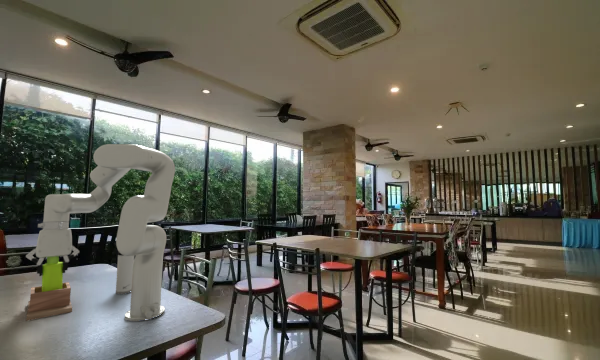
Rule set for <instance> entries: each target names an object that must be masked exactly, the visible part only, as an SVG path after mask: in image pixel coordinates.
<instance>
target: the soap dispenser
mask: <svg viewBox="0 0 600 360" xmlns="http://www.w3.org/2000/svg"><path fill="white" fill-rule="evenodd" d="M63 262H64V261H60V256H56V257H46V263H44V264H43V269H42V276H41V286H42V292H45V291H52V290H58V289H62V285H63V283H64V281H63V279H64V275H63V274H64V273H63Z"/></svg>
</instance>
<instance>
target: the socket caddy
mask: <svg viewBox="0 0 600 360" xmlns="http://www.w3.org/2000/svg"><path fill="white" fill-rule="evenodd" d="M71 291H72V288H71V285H70V282H68V281H67V282H63V285H62V289H58V290H52V291H45V292H42V285H38V286H32V287H30V297H29V298H30V299H29V300H28V303H27V308H26V309H27V310H26V318H25V321H26V322H28V321H32V320H33V321H34V320H36V319H37V320H38V319H42V318H48V317H51V316H52V317H53V316H57V315H62V314H67V313H72V312H73V305H72V302H71Z"/></svg>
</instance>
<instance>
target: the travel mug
mask: <svg viewBox="0 0 600 360" xmlns="http://www.w3.org/2000/svg"><path fill="white" fill-rule="evenodd" d="M117 251H118V250H117ZM134 259H135V256H125V255H122V254H121V253H120V252H119V251H118V252H117V264H116V265H117V269H116V280H115V281H116V282H115V294H116V295H126V294H125V293H127V294H129V293H128V292H130V291H131V287H132V271H133V262H134ZM130 293H131V292H130Z"/></svg>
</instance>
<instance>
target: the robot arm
mask: <svg viewBox="0 0 600 360" xmlns="http://www.w3.org/2000/svg"><path fill="white" fill-rule="evenodd" d="M93 162H94V163H95V165H96V167H95V168H94V169H93V170H92V171H91V172H90V174H89V178H90V180H91V181H92V183H94V184H95V185H96V187H95V188H94V189H93V190H92V191H91V192H90V193H61V194H60V193H59V194H57V193H56V194H55V193H54V194H53V193H52V194H48V195H45V200H44V210H43V211H44V212H43V221H42V222H41V223H38V224H37V228H40V229H41V230H39V233H38V237H37V242H36V247H35V248H33V249H32V250H30V252H29V253H27V254H26V255H25V258H27V259H28V260H30V261H31V262H32V263H34V264H35V265H36V266H37V267H36V275H37V274H38V276H39V277H42V269H43V265H44V264H43V261H44V260H45V259H46V258H47V257H56V256H59V257H63V261H62V262H63V274H65V273H66V271H68V269H69V268H68V267H69V262H70V261H71V260H72V259H74V257H76V256H77V255H78V254H80V250H79V249H78V248H76V247H75V246H74V245H73V235H72V229H71V228H70V227H69V224H70V214H81V213H82V214H89V213H93V212H95V211H97V210H98V209H100V208H101V207H102V206H103V205H104V204H105V203H106V202H108V200H109V199H110V197H111V194H112V189H113V188H112V187H113V186H114V185H115V184H116V183H117V182H118V181H119V180H120V179H122V178H123V177H124V176H125V175H126V174H127V173H128V172H129V171H131V169H133V170H139V171H144V172H145V171H146V172H150V173H151V175H150V176H149V177H148V179H147V181H146V183H145V187H144V193H143V195H141V194H140V195H139V194H138V195H134V196H131V197H130V198H128V199H127V200H126V202H125V203H124V204H123V206H122V208H121V212H120V216H119V217H120V218H119V222H118V228H117V233H116V237H115V238H116V240H115V241H116V243H115V245H116V248H117V251H119V252H120V253H121V254H122V255H125V256H134V262H133V271H132V287H131V292H130V307H129V310H128V311H126V312H125V314H124V320H126V321H128V320H129V322H140V321H139V320H145V319H150V318H153V317H156V316H158V315H160V314H162V313H163V312H164V311H165V312H166V307H165V306H163V305H161V303H162V302H161V300H162V281H163V280H162V279H163V262H164V261H163V259H164V253H165V248H166V244H167V234H166V231H165V230H164V228H162V227H161V226H159V225H154V224H148V223H157V222H160V221H162V220H164V218H166V216H167V213H168V209H169V203H170V197H171V190H172V185H173V181H174V177H175V173H176V166H175V163H174V161H173V159H172V158H171V156H169V155H168V154H166V153H164V152H162V151H160V150H158V149H154V148H150V147H146V146H143V145H140V144H139V145H138V144H133V143H128V144H126V143H123V144H119V143H118V144H117V143H116V144H115V143H113V144H112V143H107V144H102V145H100V146H99V147H98V148H96V149H95V151H94V153H93ZM72 251H73V252H72ZM33 255H35V256H36V257H34V256H33ZM37 258H38V259H37ZM165 312H164V313H165ZM164 313H163V314H164ZM163 314H162V315H163ZM150 320H151V319H150ZM145 321H146V320H145Z"/></svg>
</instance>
